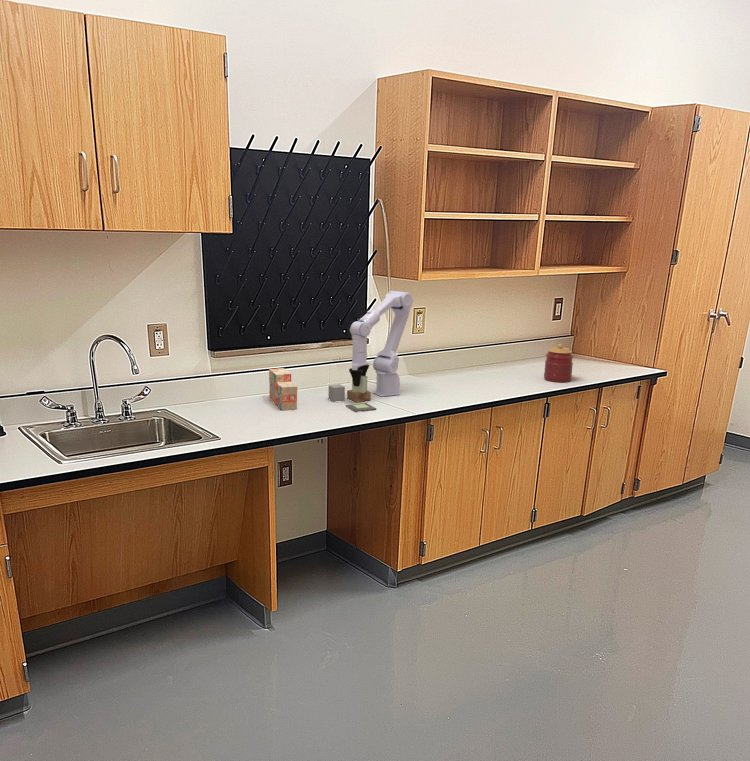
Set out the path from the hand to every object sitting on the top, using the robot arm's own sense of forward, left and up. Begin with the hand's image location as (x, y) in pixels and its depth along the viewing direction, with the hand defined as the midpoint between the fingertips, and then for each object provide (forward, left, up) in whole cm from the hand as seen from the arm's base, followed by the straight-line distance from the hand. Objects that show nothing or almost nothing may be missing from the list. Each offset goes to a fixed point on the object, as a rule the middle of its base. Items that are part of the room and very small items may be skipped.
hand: (359, 384), depth 276 cm
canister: (-106, -1, -7) cm, 106 cm away
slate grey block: (+9, -3, -7) cm, 11 cm away
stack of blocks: (+30, -6, -7) cm, 32 cm away
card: (+5, +12, -7) cm, 15 cm away
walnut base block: (0, 0, -7) cm, 7 cm away
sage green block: (0, 0, -3) cm, 3 cm away
